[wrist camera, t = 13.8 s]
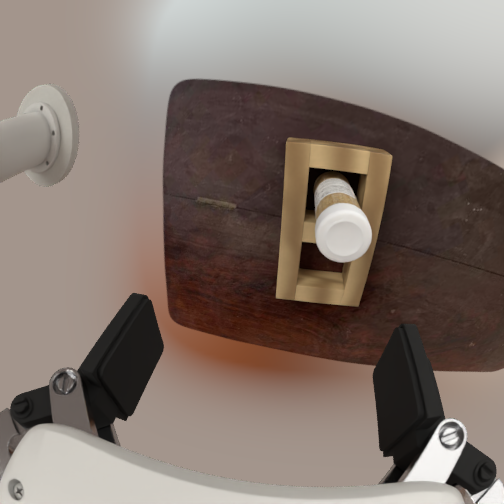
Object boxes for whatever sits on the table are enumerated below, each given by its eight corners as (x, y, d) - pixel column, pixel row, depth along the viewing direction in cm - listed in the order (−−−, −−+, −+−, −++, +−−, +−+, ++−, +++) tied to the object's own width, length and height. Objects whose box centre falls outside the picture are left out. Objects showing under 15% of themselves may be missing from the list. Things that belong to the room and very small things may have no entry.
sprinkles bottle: (344, 209, 33) (362, 269, 22) (309, 201, 33) (308, 258, 22) (354, 174, 31) (381, 219, 19) (317, 165, 31) (323, 205, 20)
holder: (278, 280, 40) (275, 298, 37) (288, 137, 30) (286, 141, 27) (355, 288, 38) (358, 306, 35) (383, 149, 28) (392, 155, 25)
